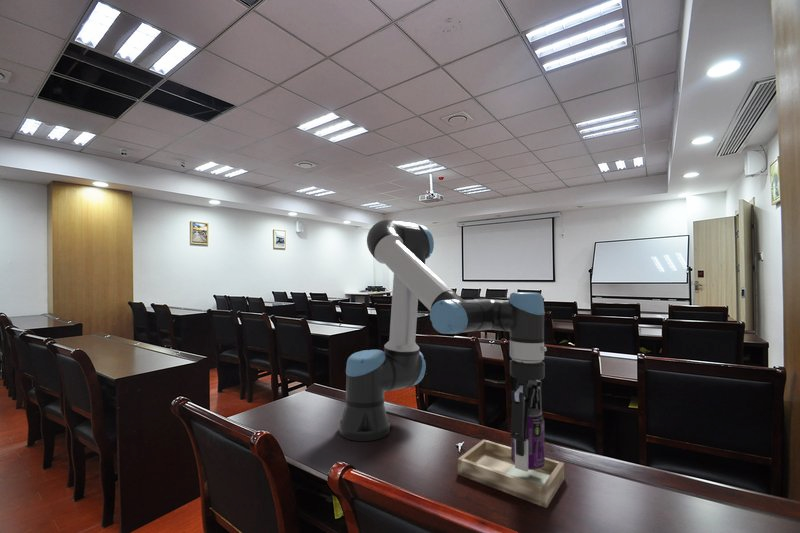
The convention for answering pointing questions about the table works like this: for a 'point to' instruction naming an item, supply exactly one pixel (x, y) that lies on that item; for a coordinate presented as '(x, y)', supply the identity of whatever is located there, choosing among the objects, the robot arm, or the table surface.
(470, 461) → the crate
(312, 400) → the table surface
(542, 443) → the beverage can
